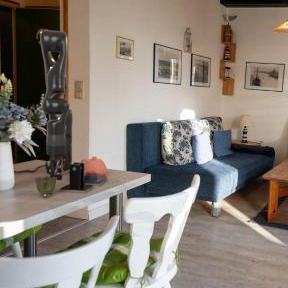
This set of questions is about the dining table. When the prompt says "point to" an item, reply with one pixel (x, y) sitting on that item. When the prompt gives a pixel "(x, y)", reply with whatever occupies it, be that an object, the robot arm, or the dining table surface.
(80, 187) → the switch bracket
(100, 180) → the control box
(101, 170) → the sugar bowl
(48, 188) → the cup
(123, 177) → the dining table surface
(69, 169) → the switch lever
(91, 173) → the button
